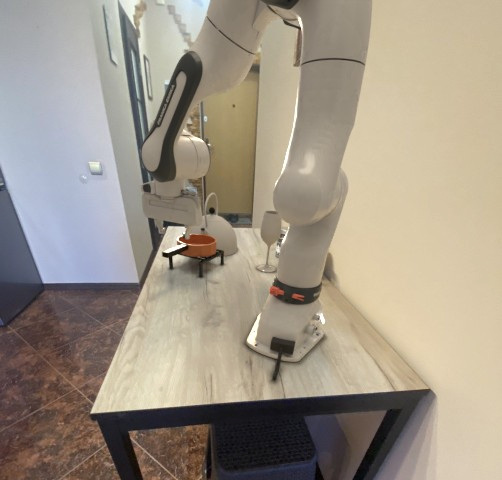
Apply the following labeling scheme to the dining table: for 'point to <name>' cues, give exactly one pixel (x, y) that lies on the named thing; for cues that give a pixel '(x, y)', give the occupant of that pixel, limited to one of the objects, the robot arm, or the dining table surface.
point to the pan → (193, 246)
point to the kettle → (217, 230)
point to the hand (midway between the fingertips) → (174, 236)
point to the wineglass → (270, 235)
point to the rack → (206, 259)
